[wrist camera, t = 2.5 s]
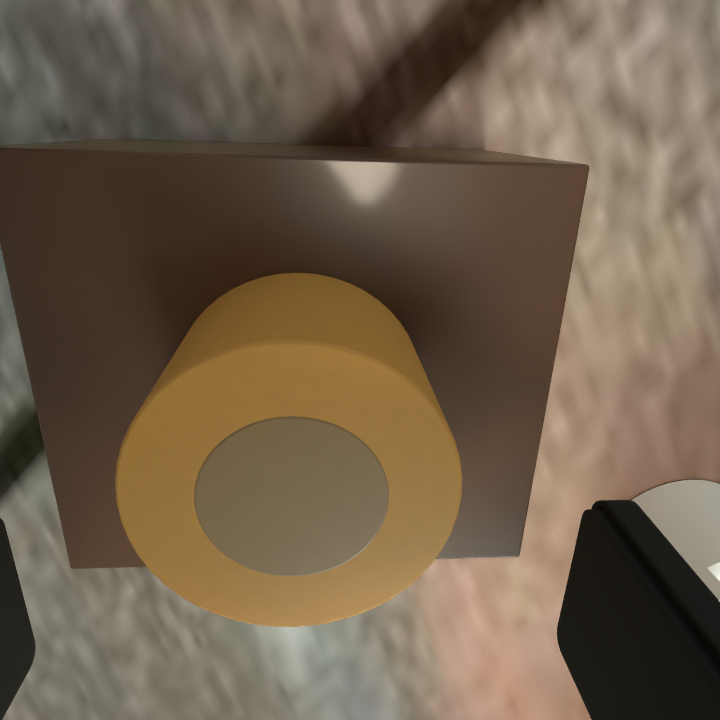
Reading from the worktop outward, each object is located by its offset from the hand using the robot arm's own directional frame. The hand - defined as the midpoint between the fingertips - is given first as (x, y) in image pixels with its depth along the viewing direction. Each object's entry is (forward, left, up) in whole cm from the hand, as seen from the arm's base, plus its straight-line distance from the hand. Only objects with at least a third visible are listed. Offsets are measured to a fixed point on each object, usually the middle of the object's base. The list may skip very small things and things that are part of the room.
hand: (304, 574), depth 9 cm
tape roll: (0, 0, -7) cm, 7 cm away
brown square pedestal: (0, 0, -16) cm, 16 cm away
